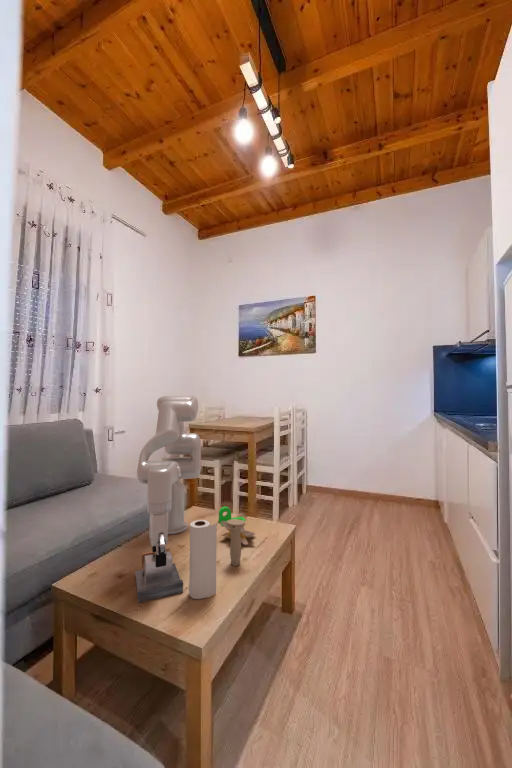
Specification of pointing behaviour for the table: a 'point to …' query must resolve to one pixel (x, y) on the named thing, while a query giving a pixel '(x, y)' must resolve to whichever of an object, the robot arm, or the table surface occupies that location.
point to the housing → (157, 570)
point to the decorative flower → (243, 533)
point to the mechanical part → (227, 515)
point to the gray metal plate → (158, 586)
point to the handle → (235, 540)
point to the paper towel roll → (202, 559)
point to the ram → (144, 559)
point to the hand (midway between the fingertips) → (159, 558)
